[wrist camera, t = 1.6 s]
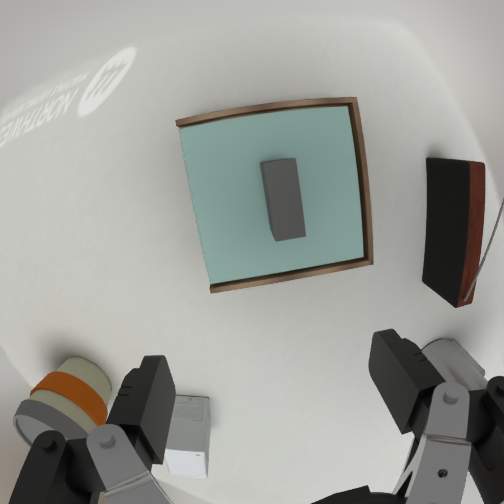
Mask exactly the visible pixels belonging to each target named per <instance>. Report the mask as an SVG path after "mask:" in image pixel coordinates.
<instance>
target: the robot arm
mask: <svg viewBox="0 0 504 504" xmlns="http://www.w3.org/2000/svg"><path fill="white" fill-rule="evenodd" d="M369 372H370V376H371V378H372V380H373V381H374V383H375V385H376V387H377V389H378V391H379V392H380V394H381V396H382V398H383V400H384V402H385V404H386V405H387V407H388V409H389V411H390V413H391V415H392V417H393V419H394V420H395V422H396V424H397V426H398V428H399V430H400V432H401V434H405V433H408V432H411V431H412V432H413V434H414V435H415V436H414V438H413V440H412V443H411V446H410V450H409V453H408V456H407V459H406V462H405V465H404V467H403V470H402V473H401V476H400V478H399V480H398V482H397V484H396V486H395V488H394V490H393V492H392V494H391V493H383V492H370V490H369V487H368V485H366V486H363V487H359V488H356V489H352V490H348V491H344V492H339V493H335V494H333V495H330V496H328V497H326V498H323V499H321V500H319V501H316V502H314V503H311V504H460V503H461V499H462V495H463V491H464V486H465V481H466V476H467V471H469V472H470V474H471V476H472V478H473V480H474V482H475V484H476V486H477V488H478V490H479V493H480V495H481V497H482V499H483V502H484V504H504V376H496V377H493V378H491V379H490V380H489V382H488V381H487V380H486V379H485V378H484V375H485V370H484V369H483V368H482V367H481V366H480V365H479V364H478V363H477V362H476V361H475V360H474V359H473V358H472V356H471V355H470V354H469V353H468V352H467V351H466V350H465V349H464V348H463V347H462V346H461V345H460V344H459V343H458V342H457V341H456V340H453V341H449V340H447V339H439V340H437V341H434V342H432V343H431V344H429V345H428V346H426V347H425V348H424V349H423V350H422V351H421V350H420V349H419V347H418V346H417V345H416V344H415V343H413V342H411V341H410V340H408V339H406V338H403V339H401V337H400V336H399V335H398V334H397V332H396V331H395V330H394V329H387V330H383V331H378V332H375V333H374V334H373V338H372V345H371V351H370V358H369ZM175 398H176V391H175V385H174V382H173V379H172V376H171V373H170V369H169V366H168V363H167V360H166V357H165V356H164V355H152V356H144V358H143V360H142V363H141V365H140V368H133V369H132V370H131V371H130V372H129V373H128V374H127V375H126V376H125V378H124V380H123V382H122V385H121V388H120V389H119V392H118V396H116V399H115V401H114V404H113V406H112V409H111V411H110V413H109V416H108V418H107V421H106V423H105V424H104V425H100V426H98V427H96V428H94V429H93V430H92V431H91V432H90V433H89V435H88V437H87V438H81V439H71V440H66V438H65V437H64V436H63V434H62V433H60V432H59V431H56V430H47V431H44V432H42V433H41V434H39V435H38V436H37V437H36V438H35V440H34V442H33V444H32V446H31V449H30V451H29V453H28V455H27V458H26V460H25V462H24V465H23V467H22V469H21V472H20V474H19V477H18V479H17V482H16V484H15V488H14V490H13V492H12V495H11V498H10V501H9V504H98V499H99V495H100V492H103V491H106V492H105V497H106V499H107V501H108V503H109V504H173V503H172V501H171V500H170V499H169V497H168V496H167V495H166V493H165V492H164V491H163V489H162V488H161V486H160V485H159V484H158V482H157V481H156V479H155V478H154V476H153V475H152V473H151V468H152V464H161V465H163V460H164V454H165V449H166V443H167V438H168V433H169V428H170V423H171V418H172V413H173V408H174V403H175Z"/></svg>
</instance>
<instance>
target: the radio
mask: <svg viewBox="0 0 504 504" xmlns="http://www.w3.org/2000/svg"><path fill="white" fill-rule="evenodd" d="M426 171H427V220H426V241H425V255H424V266H423V276H422V282H423V283H424V284H426V285H427V286H428V287H430V288H431V289H432V290H433V291H435V292H436V293H437V294H438V295H440V296H441V297H442V298H443V299H445V300H446V301H447V302H448V303H450V304H451V305H452V306H453V307H455V308H458V307H461V306H464V305H468V304H471V303H472V301H473V296H474V291H475V286H476V280H477V277H478V275H479V272H480V270H481V268H482V265H483V263H484V261H485V257H486V255H487V252H488V250H489V247H490V245H491V242H492V239H493V236H494V234H495V231H496V228H497V225H498V222H499V219H500V216H501V212H502V208H503V205H504V199H503V203H502V206H501V208H500V212H499V215H498V218H497V221H496V224H495V227H494V230H493V233H492V236H491V239H490V241H489V244H488V247H487V249H486V252H485V255H484V257H483V259H482V261H481V264H480V266H479V261H480V254H481V246H482V237H483V226H484V211H485V164H484V163H482V162H475V161H466V160H456V159H445V158H426Z"/></svg>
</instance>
